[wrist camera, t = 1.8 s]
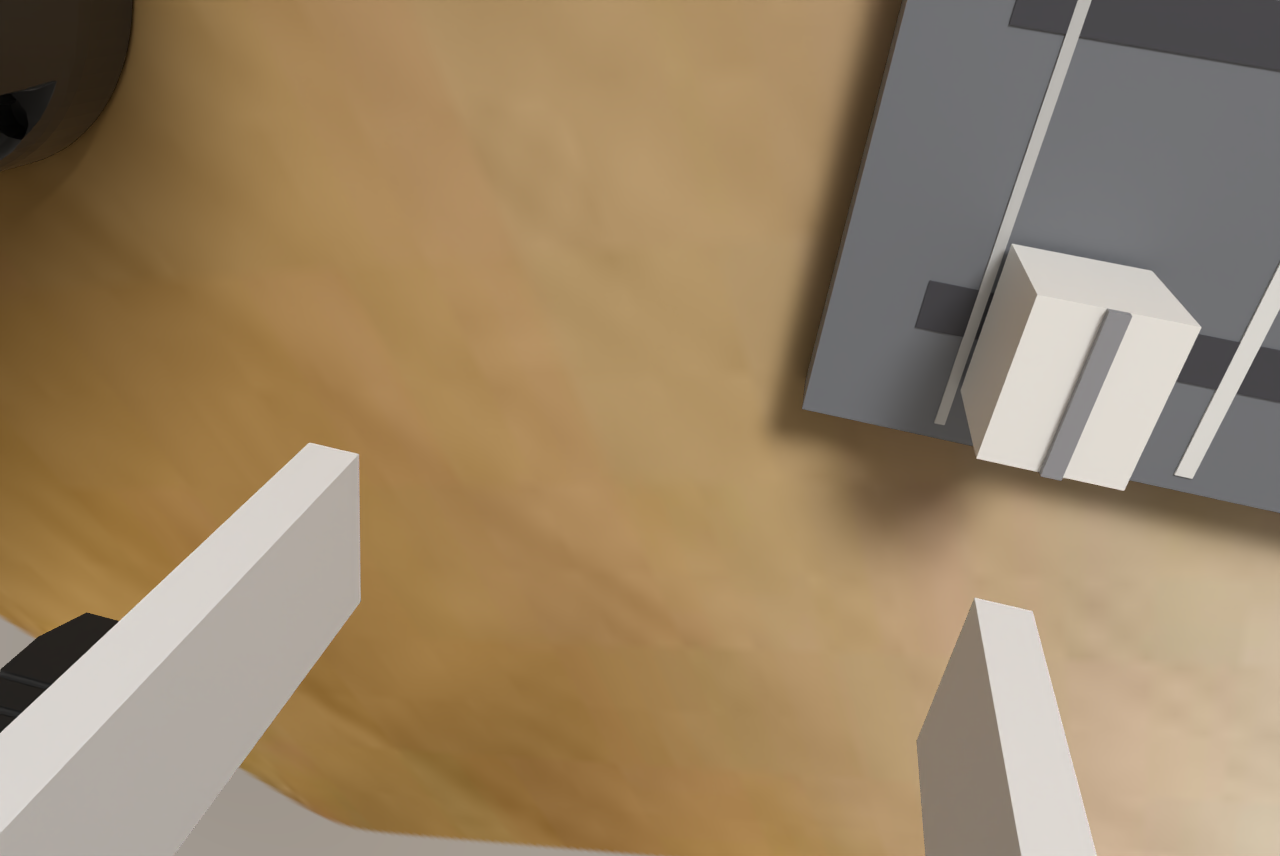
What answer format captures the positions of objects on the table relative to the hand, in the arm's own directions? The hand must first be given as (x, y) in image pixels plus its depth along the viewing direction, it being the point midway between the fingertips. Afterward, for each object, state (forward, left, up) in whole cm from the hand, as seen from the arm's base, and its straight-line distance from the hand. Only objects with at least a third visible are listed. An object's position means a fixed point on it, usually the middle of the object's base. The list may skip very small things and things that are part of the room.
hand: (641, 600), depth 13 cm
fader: (+9, 0, -15) cm, 17 cm away
